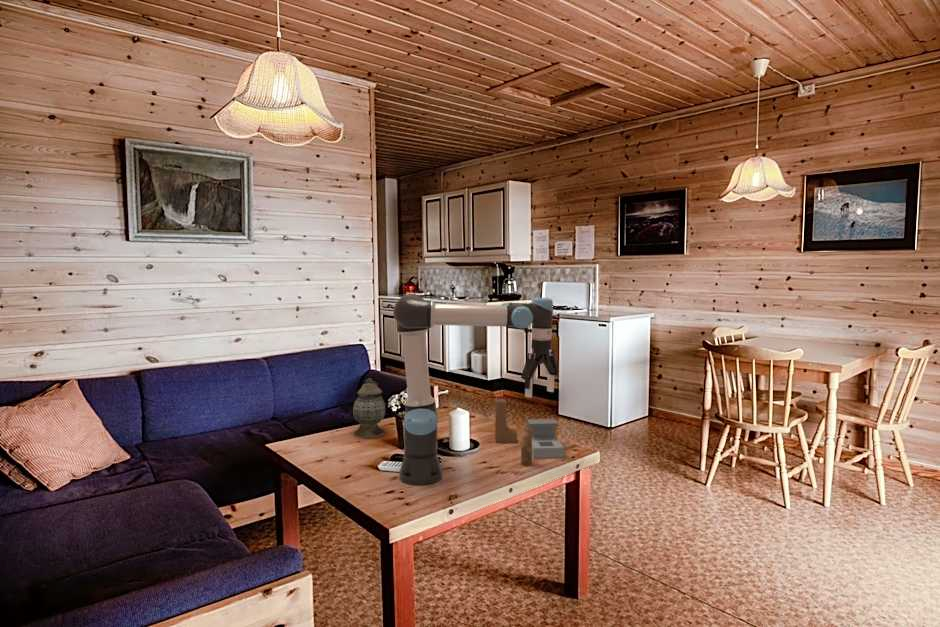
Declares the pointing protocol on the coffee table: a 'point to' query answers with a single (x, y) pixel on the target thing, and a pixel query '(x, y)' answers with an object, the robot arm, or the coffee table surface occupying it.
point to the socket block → (545, 439)
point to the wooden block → (503, 424)
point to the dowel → (526, 446)
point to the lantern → (369, 410)
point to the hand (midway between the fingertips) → (539, 394)
